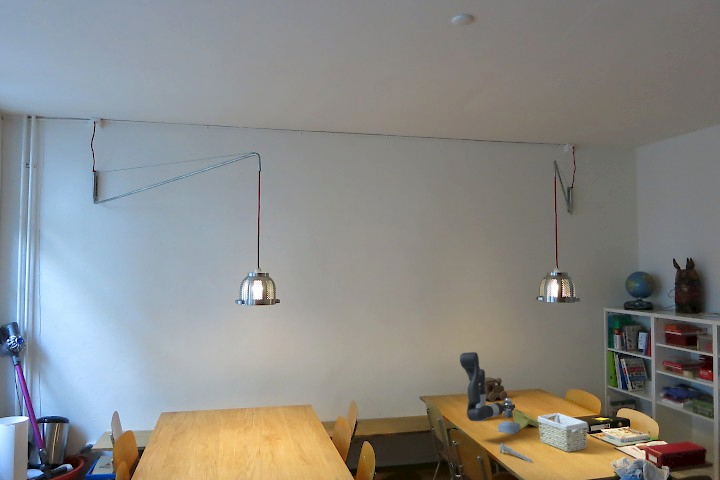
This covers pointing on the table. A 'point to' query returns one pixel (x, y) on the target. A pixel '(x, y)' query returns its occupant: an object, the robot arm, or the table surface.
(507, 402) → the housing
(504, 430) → the stand
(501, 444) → the caliper
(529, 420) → the plastic component
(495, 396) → the wooden toy train
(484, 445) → the table surface
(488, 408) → the robot arm
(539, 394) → the table surface
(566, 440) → the storage basket
